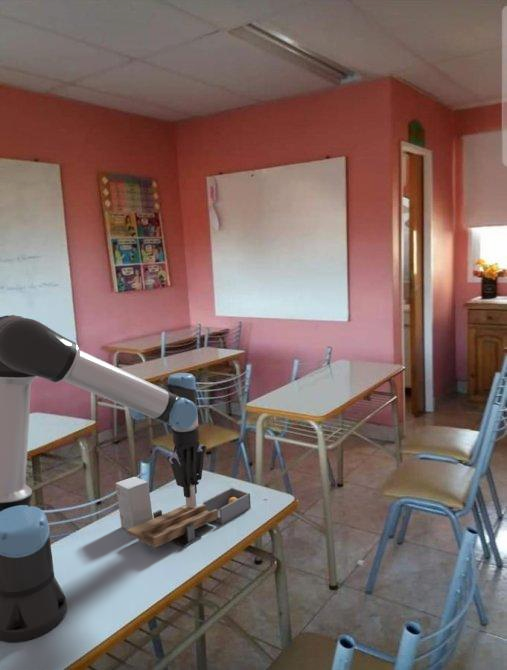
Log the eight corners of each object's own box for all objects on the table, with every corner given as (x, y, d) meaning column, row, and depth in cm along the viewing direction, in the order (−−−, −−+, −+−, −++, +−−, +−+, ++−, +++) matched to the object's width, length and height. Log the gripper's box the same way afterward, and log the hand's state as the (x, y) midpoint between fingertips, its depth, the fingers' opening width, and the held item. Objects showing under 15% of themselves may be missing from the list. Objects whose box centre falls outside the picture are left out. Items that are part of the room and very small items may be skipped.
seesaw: (155, 547, 139) (154, 538, 138) (126, 533, 147) (126, 524, 146) (218, 518, 155) (217, 509, 155) (189, 506, 163) (189, 498, 163)
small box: (154, 526, 155) (148, 481, 154) (134, 534, 151) (127, 488, 150) (140, 518, 161) (134, 475, 160) (120, 526, 157) (114, 482, 156)
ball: (236, 511, 162) (231, 505, 161) (228, 508, 165) (224, 502, 163) (242, 502, 164) (237, 496, 162) (234, 499, 166) (230, 493, 165)
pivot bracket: (184, 547, 144) (183, 531, 143) (148, 530, 154) (147, 515, 153) (201, 537, 148) (200, 522, 148) (165, 521, 158) (164, 507, 158)
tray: (222, 524, 155) (221, 509, 154) (204, 516, 160) (203, 502, 159) (250, 507, 164) (249, 493, 163) (232, 501, 169) (231, 487, 168)
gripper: (176, 436, 149) (182, 518, 152) (211, 423, 158) (216, 501, 162) (158, 431, 154) (165, 511, 157) (193, 419, 163) (199, 494, 167)
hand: (191, 506), depth 160 cm, fingers closed
